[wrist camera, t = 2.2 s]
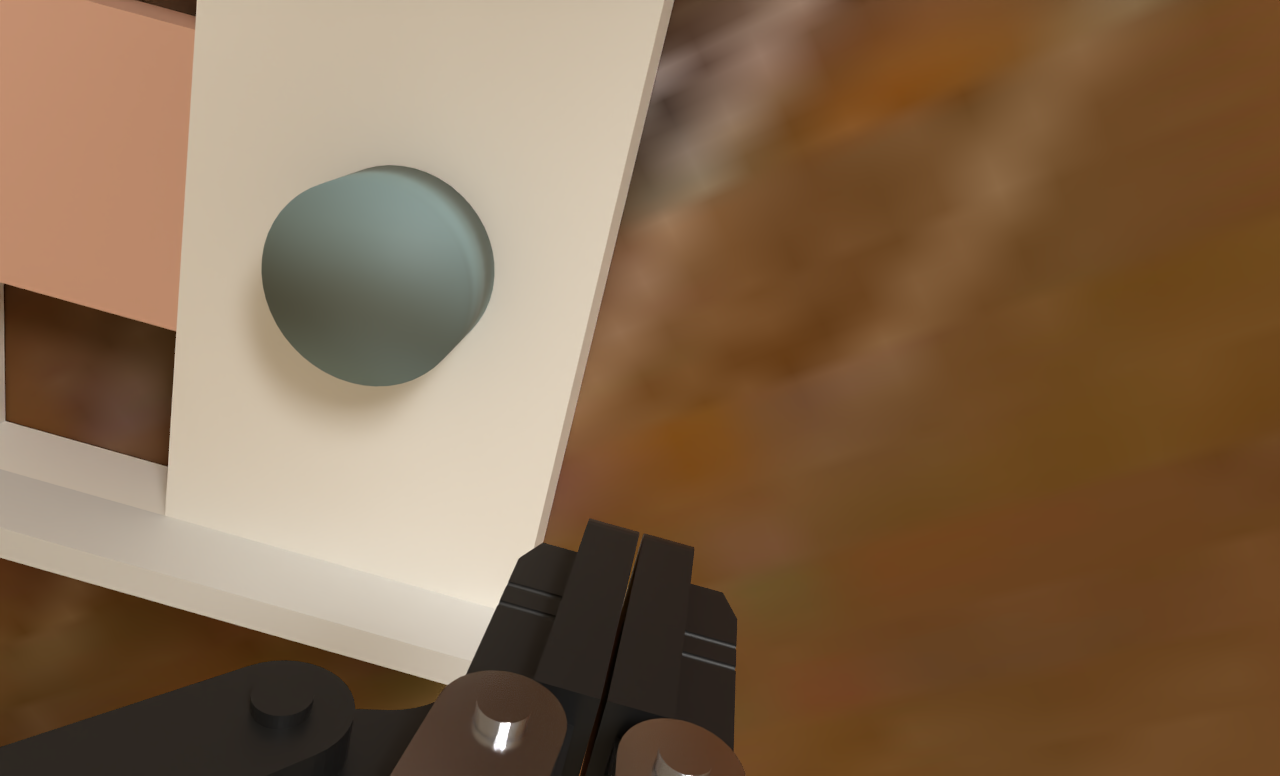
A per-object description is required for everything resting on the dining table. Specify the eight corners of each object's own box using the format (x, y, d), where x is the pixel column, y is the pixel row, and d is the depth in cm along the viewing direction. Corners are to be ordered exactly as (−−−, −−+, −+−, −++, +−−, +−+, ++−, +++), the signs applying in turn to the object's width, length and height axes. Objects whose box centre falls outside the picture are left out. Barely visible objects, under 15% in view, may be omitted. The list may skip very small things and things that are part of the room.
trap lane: (-82, -365, 23) (-299, -468, 18) (712, -155, 22) (699, -205, 18) (-52, 431, 31) (-196, 502, 26) (530, 595, 30) (489, 696, 26)
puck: (320, 142, 23) (272, 154, 21) (511, 194, 23) (484, 212, 21) (298, 325, 25) (252, 355, 23) (476, 375, 25) (447, 409, 23)
